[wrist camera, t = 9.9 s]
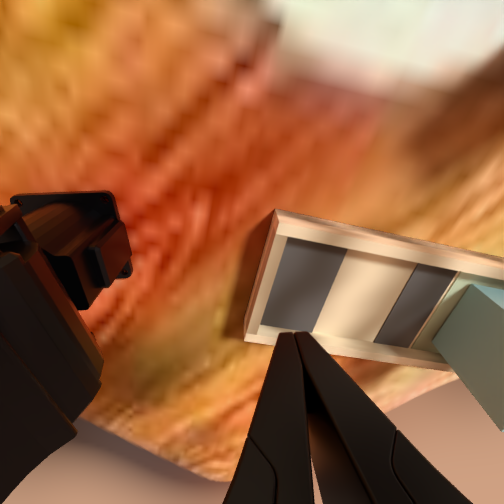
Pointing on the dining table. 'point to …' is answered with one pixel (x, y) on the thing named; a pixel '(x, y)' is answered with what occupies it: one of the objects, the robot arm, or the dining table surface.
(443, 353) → the teal block
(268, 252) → the box
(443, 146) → the dining table surface
